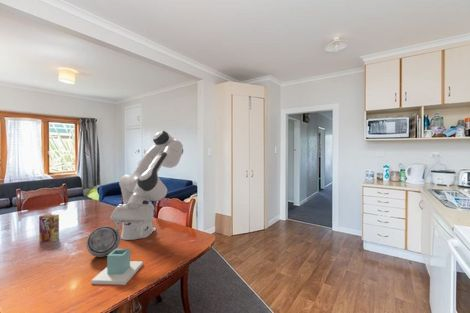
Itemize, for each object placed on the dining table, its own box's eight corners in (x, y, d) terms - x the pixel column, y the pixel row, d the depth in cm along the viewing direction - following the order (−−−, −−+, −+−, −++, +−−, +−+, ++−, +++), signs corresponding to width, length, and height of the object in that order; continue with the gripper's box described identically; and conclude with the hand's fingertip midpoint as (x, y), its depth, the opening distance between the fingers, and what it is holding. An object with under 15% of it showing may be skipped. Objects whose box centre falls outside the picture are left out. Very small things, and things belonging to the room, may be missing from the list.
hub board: (113, 263, 106) (113, 260, 106) (142, 264, 106) (142, 261, 106) (91, 283, 90) (91, 280, 90) (125, 284, 90) (125, 281, 90)
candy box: (59, 239, 136) (59, 214, 135) (53, 242, 131) (53, 216, 131) (45, 239, 136) (44, 214, 135) (38, 241, 131) (38, 216, 131)
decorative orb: (83, 264, 106) (83, 233, 105) (89, 251, 119) (89, 224, 118) (119, 258, 111) (118, 229, 111) (121, 247, 125) (120, 220, 124)
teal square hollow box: (115, 266, 102) (115, 248, 101) (130, 266, 101) (130, 248, 101) (107, 274, 95) (107, 255, 95) (122, 274, 95) (122, 255, 95)
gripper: (114, 201, 114) (102, 226, 104) (154, 202, 113) (145, 227, 103) (119, 207, 118) (108, 232, 109) (157, 208, 117) (149, 233, 108)
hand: (126, 230), depth 106 cm, fingers open, 8 cm apart
